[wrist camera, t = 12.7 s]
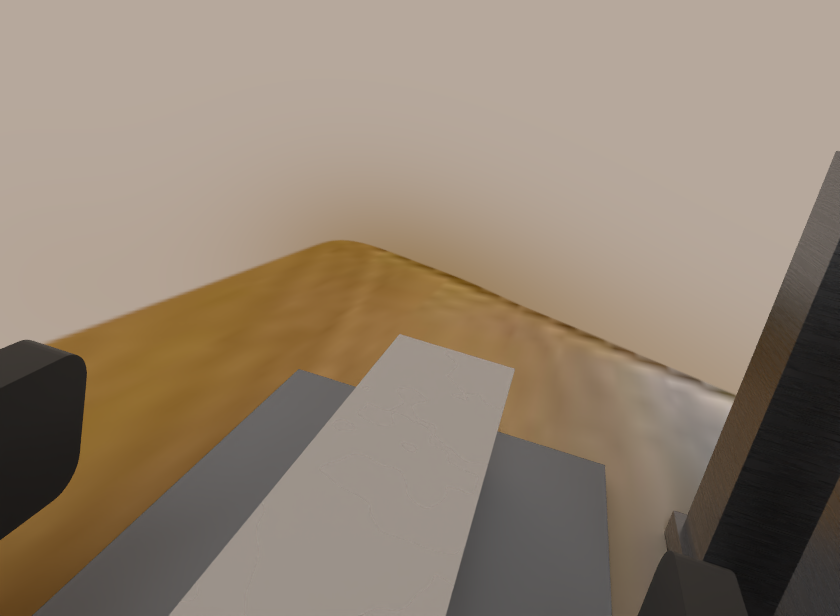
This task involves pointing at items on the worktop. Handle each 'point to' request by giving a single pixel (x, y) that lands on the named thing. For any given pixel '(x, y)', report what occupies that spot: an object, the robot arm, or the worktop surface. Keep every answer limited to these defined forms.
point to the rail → (370, 498)
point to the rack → (782, 444)
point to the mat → (277, 451)
